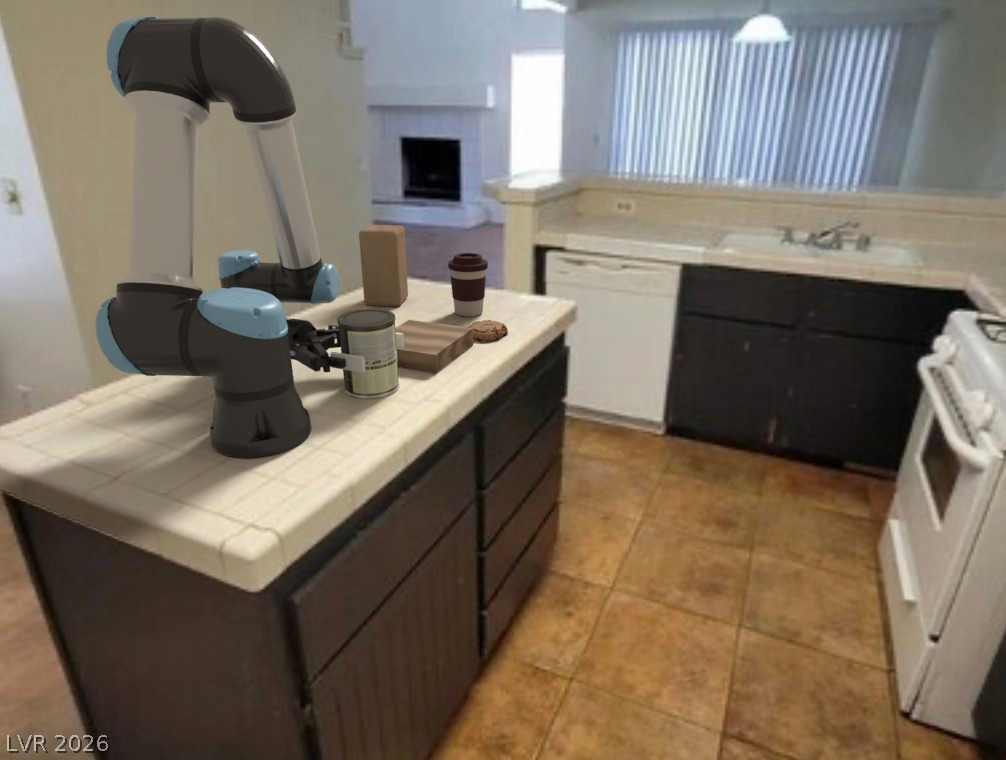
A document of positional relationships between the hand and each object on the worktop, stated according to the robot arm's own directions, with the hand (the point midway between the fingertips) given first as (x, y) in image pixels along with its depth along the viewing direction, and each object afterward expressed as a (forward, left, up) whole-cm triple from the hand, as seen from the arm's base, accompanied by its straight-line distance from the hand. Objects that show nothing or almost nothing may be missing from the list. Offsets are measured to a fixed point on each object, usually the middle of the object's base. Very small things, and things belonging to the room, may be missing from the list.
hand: (384, 352), depth 117 cm
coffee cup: (+51, +6, -8) cm, 52 cm away
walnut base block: (+20, +3, -8) cm, 22 cm away
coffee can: (0, +3, -8) cm, 9 cm away
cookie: (+37, -5, -8) cm, 38 cm away
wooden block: (+52, +31, -8) cm, 61 cm away
